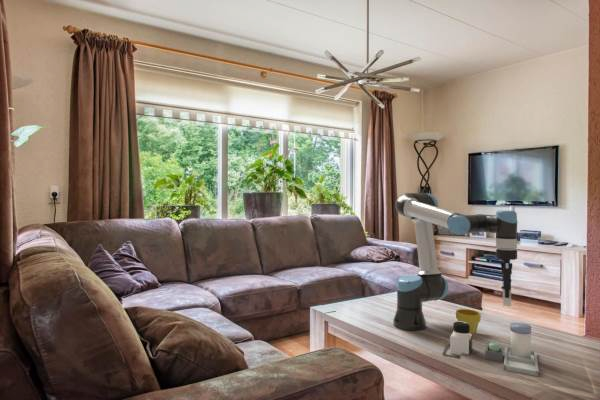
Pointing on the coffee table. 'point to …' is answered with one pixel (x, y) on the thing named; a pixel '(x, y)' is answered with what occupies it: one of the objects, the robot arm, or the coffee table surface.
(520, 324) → the cream and blue canister
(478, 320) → the plant pot
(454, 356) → the frame
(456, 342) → the medicine bottle
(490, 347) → the button
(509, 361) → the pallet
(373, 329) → the coffee table surface
